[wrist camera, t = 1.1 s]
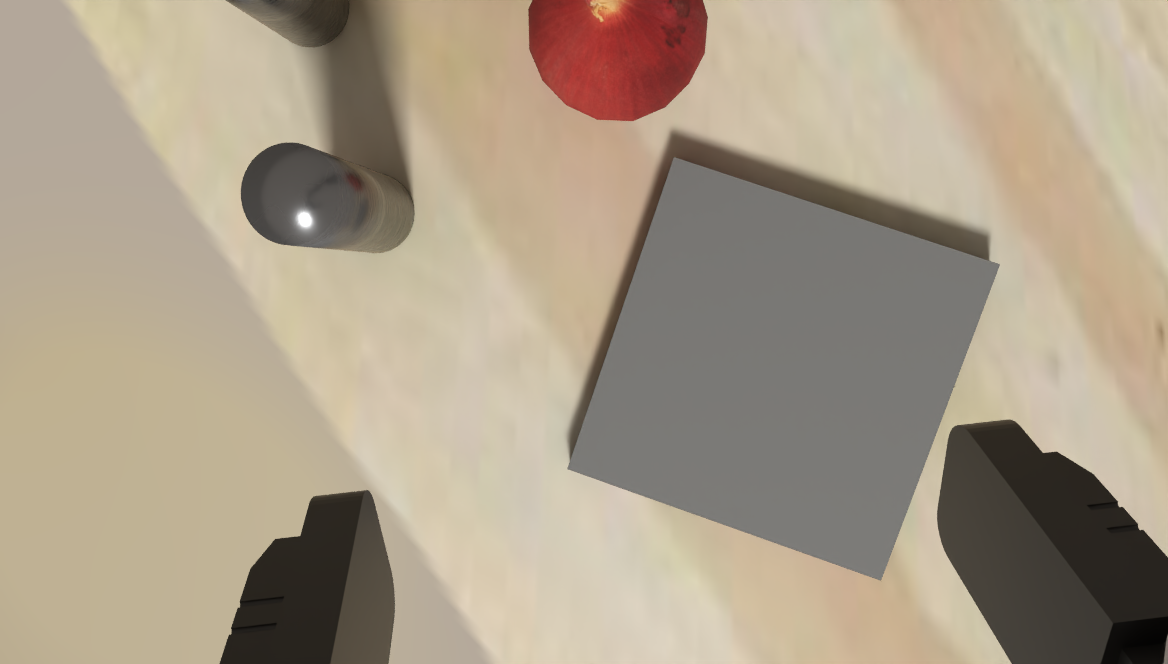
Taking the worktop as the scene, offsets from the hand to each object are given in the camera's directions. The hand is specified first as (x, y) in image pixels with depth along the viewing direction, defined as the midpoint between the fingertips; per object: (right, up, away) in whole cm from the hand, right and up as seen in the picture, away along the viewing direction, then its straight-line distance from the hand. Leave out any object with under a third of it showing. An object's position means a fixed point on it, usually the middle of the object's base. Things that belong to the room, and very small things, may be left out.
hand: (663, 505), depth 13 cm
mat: (+6, +1, +21) cm, 22 cm away
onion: (0, +13, +21) cm, 25 cm away
